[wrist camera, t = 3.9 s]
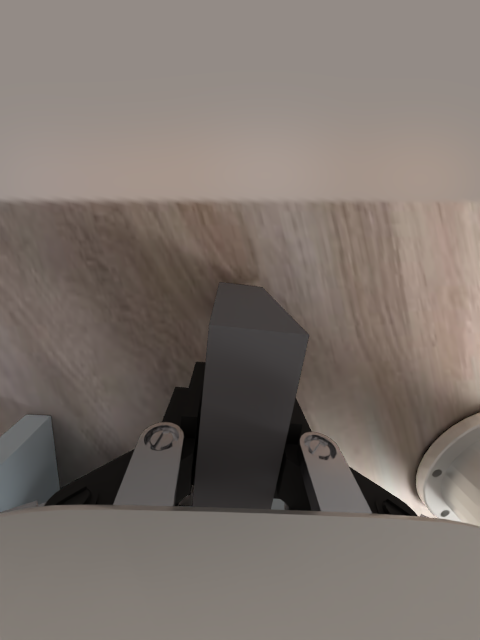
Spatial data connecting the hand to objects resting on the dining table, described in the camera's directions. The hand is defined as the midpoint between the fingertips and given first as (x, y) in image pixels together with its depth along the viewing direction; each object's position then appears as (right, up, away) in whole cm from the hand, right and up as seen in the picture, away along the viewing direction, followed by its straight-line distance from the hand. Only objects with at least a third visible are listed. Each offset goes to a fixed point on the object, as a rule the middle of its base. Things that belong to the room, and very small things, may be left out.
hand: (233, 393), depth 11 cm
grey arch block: (0, +1, +4) cm, 4 cm away
